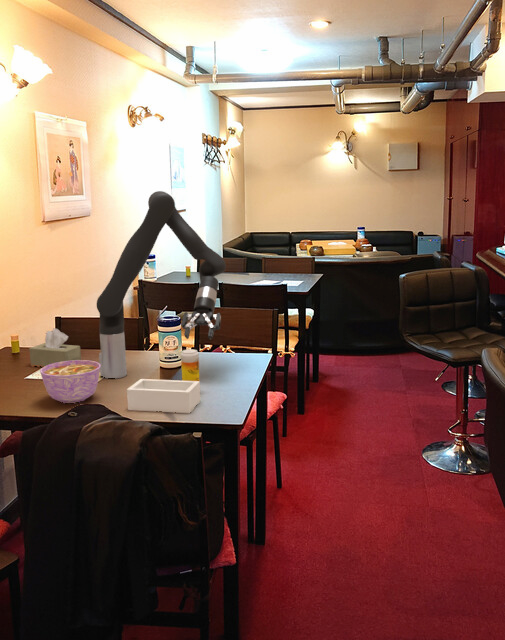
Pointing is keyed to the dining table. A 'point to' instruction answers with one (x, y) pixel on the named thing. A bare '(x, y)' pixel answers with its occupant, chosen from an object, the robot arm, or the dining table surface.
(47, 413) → the dining table surface
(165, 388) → the white rectangular tray
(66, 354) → the tissue box
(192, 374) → the beer can
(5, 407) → the dining table surface
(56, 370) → the bowl of food
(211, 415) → the dining table surface
